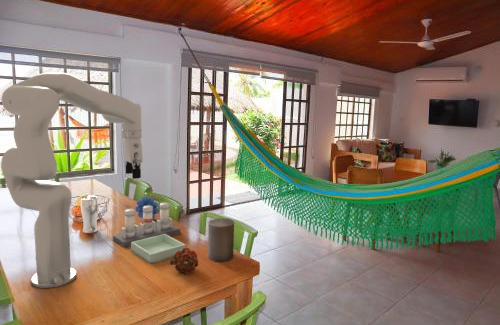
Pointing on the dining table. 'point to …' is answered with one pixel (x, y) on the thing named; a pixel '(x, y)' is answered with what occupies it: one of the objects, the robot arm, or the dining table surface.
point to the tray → (156, 248)
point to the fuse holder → (141, 235)
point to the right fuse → (164, 215)
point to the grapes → (146, 202)
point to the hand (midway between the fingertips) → (133, 175)
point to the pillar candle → (221, 239)
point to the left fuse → (130, 223)
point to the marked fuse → (147, 219)
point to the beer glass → (89, 213)
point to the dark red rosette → (185, 260)
